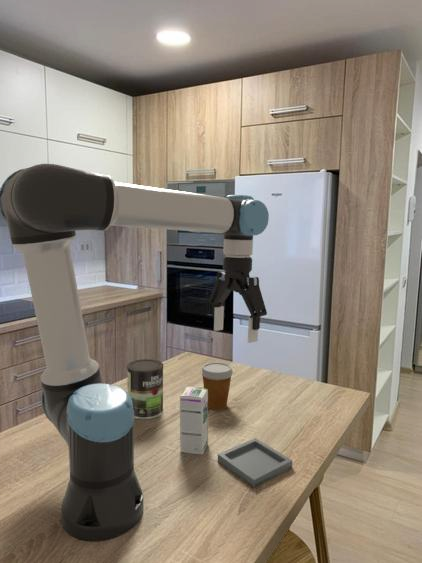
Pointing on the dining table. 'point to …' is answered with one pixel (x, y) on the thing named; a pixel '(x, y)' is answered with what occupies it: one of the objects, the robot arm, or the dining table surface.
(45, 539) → the dining table surface
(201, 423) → the syrup box
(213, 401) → the disposable coffee cup
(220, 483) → the dining table surface
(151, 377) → the coffee can
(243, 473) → the tray
